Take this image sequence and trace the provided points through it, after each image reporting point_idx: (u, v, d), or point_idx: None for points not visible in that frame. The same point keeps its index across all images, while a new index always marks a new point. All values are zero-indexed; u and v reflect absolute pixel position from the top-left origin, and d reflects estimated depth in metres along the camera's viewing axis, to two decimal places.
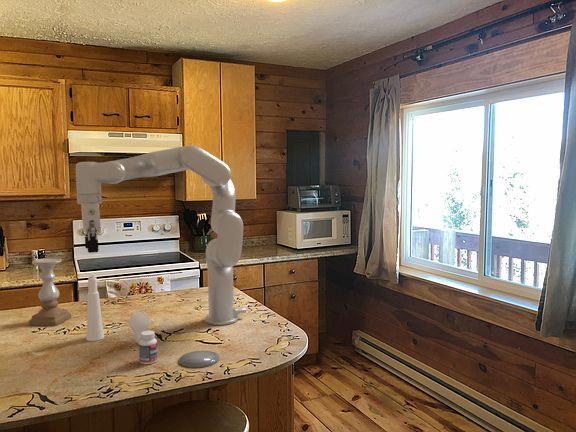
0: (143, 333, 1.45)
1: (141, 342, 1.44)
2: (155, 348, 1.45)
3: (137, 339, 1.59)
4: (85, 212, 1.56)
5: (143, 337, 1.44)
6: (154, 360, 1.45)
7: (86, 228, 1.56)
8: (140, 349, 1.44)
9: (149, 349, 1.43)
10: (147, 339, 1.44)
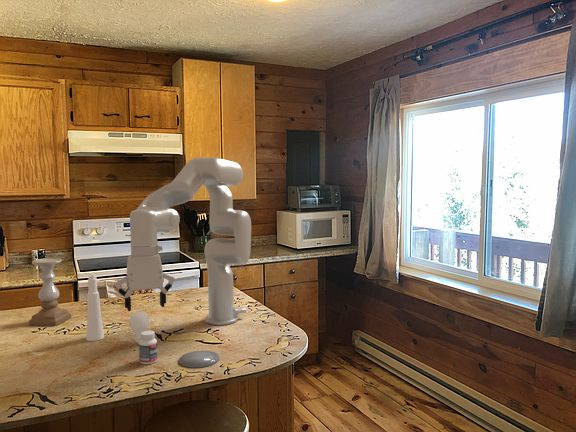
0: (143, 333, 1.45)
1: (141, 342, 1.44)
2: (155, 348, 1.45)
3: (137, 339, 1.59)
4: (160, 264, 1.44)
5: (143, 337, 1.44)
6: (154, 360, 1.45)
7: (162, 281, 1.44)
8: (140, 349, 1.44)
9: (149, 349, 1.43)
10: (147, 339, 1.44)
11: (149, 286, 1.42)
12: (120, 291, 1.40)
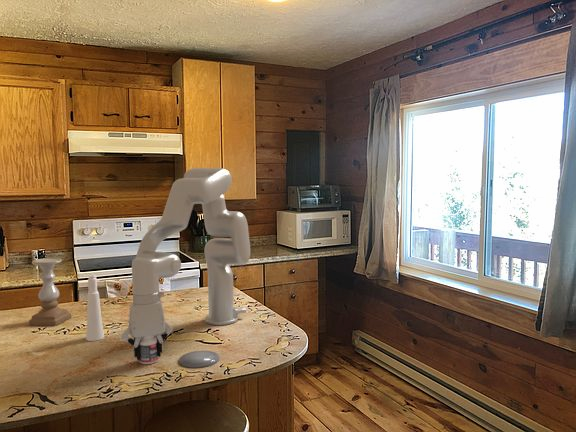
0: None
1: (141, 342, 1.44)
2: (155, 348, 1.45)
3: None
4: (162, 310, 1.45)
5: (143, 337, 1.44)
6: (154, 360, 1.45)
7: (164, 327, 1.46)
8: (140, 349, 1.44)
9: (149, 349, 1.43)
10: (147, 339, 1.44)
11: (151, 333, 1.44)
12: (129, 341, 1.42)
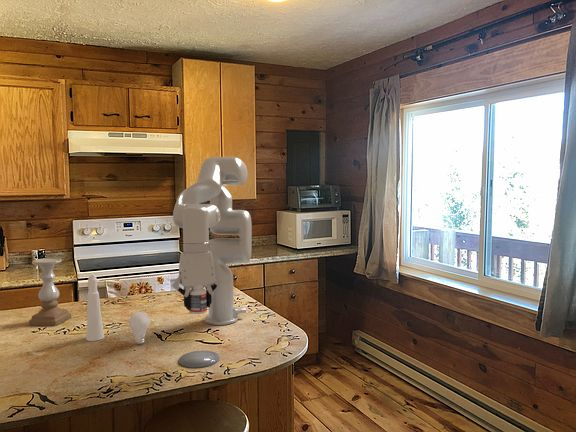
0: None
1: (191, 292, 1.43)
2: (205, 298, 1.44)
3: (137, 339, 1.59)
4: (212, 260, 1.44)
5: (193, 287, 1.43)
6: (204, 310, 1.44)
7: (214, 277, 1.45)
8: (190, 299, 1.43)
9: (199, 299, 1.43)
10: (198, 289, 1.43)
11: (202, 282, 1.43)
12: (180, 290, 1.42)
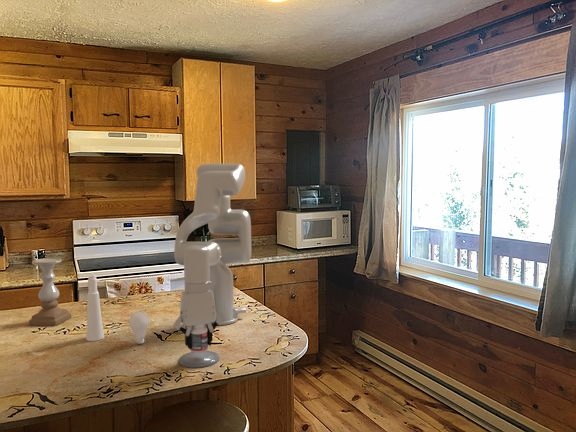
0: None
1: (192, 331, 1.44)
2: (206, 337, 1.45)
3: (137, 339, 1.59)
4: (213, 299, 1.45)
5: (194, 326, 1.44)
6: (205, 349, 1.45)
7: (215, 316, 1.46)
8: (191, 338, 1.44)
9: (200, 338, 1.44)
10: (199, 328, 1.44)
11: (203, 321, 1.44)
12: (181, 330, 1.43)
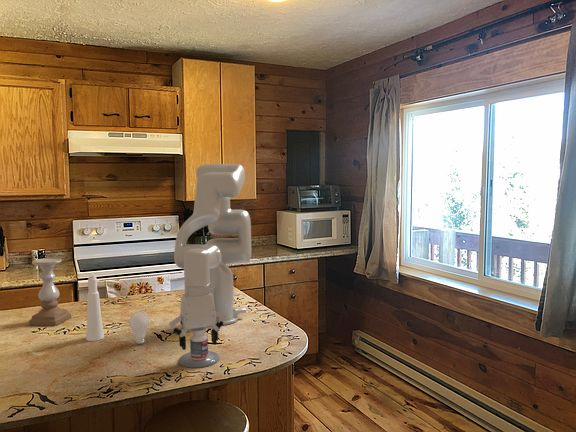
0: (194, 329, 1.45)
1: (193, 338, 1.45)
2: (206, 344, 1.46)
3: (137, 339, 1.59)
4: (213, 302, 1.45)
5: (195, 333, 1.44)
6: (205, 356, 1.45)
7: (215, 319, 1.46)
8: (192, 345, 1.45)
9: (201, 345, 1.44)
10: (199, 335, 1.45)
11: (203, 324, 1.44)
12: (175, 330, 1.42)
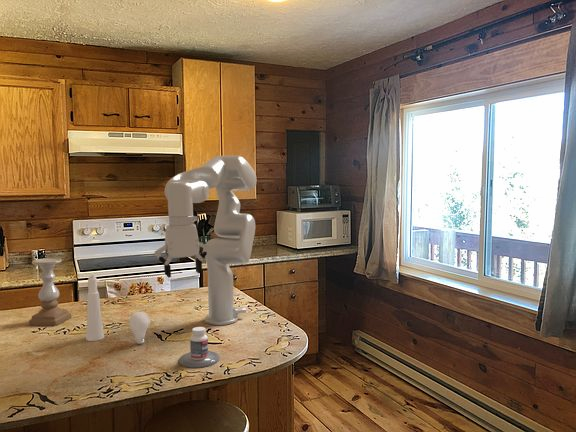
0: (194, 329, 1.46)
1: (193, 338, 1.45)
2: (206, 344, 1.46)
3: (137, 339, 1.59)
4: (197, 233, 1.53)
5: (195, 333, 1.44)
6: (205, 356, 1.45)
7: None
8: (192, 345, 1.45)
9: (201, 345, 1.44)
10: (199, 335, 1.45)
11: (187, 254, 1.51)
12: (160, 259, 1.49)
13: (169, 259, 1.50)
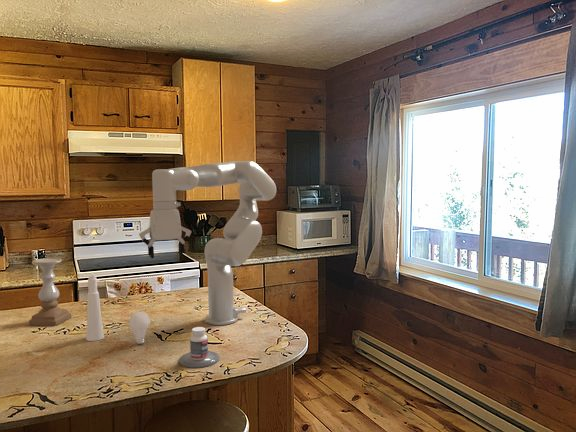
0: (194, 329, 1.45)
1: (192, 338, 1.45)
2: (206, 344, 1.46)
3: (137, 339, 1.59)
4: (179, 217, 1.63)
5: (194, 333, 1.44)
6: (205, 356, 1.45)
7: (181, 232, 1.64)
8: (191, 345, 1.45)
9: (200, 346, 1.44)
10: (199, 335, 1.45)
11: (169, 236, 1.62)
12: (144, 240, 1.59)
13: (152, 241, 1.60)
